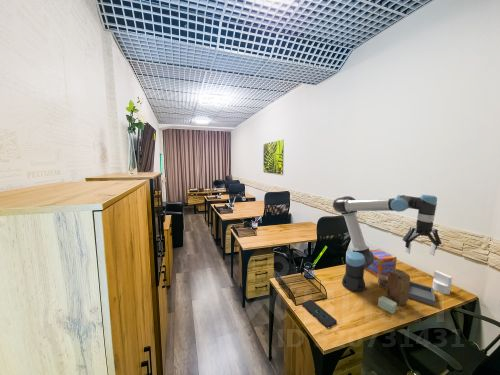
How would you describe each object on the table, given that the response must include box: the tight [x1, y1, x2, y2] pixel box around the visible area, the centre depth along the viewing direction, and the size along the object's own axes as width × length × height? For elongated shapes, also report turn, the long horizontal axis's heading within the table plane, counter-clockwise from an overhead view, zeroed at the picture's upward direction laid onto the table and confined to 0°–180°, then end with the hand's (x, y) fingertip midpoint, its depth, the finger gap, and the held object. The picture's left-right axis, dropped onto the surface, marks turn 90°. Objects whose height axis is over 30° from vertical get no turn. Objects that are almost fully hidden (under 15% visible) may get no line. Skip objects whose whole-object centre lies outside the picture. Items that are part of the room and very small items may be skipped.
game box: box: [364, 248, 397, 278], centre depth 161 cm, size 16×16×16 cm
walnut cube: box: [377, 275, 388, 289], centre depth 144 cm, size 6×6×6 cm
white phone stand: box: [432, 270, 453, 295], centre depth 138 cm, size 9×9×12 cm
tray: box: [408, 280, 436, 307], centre depth 134 cm, size 14×17×4 cm
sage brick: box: [377, 295, 398, 315], centre depth 121 cm, size 8×5×5 cm, turn 33°
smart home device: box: [301, 299, 338, 329], centre depth 117 cm, size 8×2×20 cm
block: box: [386, 268, 411, 306], centre depth 127 cm, size 11×8×20 cm
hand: (419, 253), depth 123 cm, fingers open, 13 cm apart
